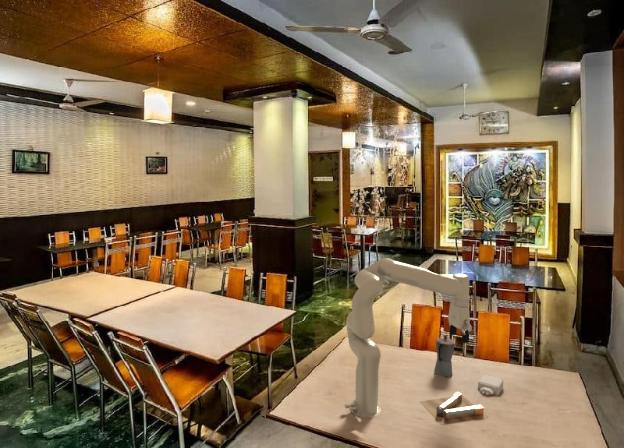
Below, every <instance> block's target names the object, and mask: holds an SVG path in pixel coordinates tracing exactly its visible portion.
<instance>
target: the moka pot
mask: <svg viewBox="0 0 624 448" xmlns="http://www.w3.org/2000/svg"><path fill="white" fill-rule="evenodd" d="M435 342H436V343H435V344H436V360H435V361H436V362H435V365H434V370H433V372H434V374H435V375H439V376H441V377H443V378H450V377H452V376H453V365H452V364H453V363H452V358H453V355H454V349H455V345H456V343H455V340H452V339H451V338H449V337H448V336H447V335H444V336H443V337H439V338H436V339H435Z"/></svg>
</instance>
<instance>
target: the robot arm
mask: <svg viewBox="0 0 624 448" xmlns="http://www.w3.org/2000/svg"><path fill="white" fill-rule="evenodd" d="M384 278H385V279H386V280H389V281H392V282H396V283H399V284H404V285H407V286H412V287H415V288H419V289H421V290H427V291H430V292H434V293H438V294H441V295H445V296H450V303H449V308H448V309H449V311H448V314H447V318H448V319H447V321H448V325H449V335H450V336H454V335H457V330H461V331H462V334H461V343H462V344H469V343H470V335H471V334H472V329H473V326H472V325H471V323H470V321H471V320H470V319H471V317H470V307H469V306H470V305H469V304H470V276H468V275H467V274H464V273H454V274H447V273H442V274H441V273H440V274H438V273H435V272H432V271H430V270H428V269H426V268H424V267H420V266H416V265H412V264H409V263H404V262H400V261H396V260H394V259H393V258H392V259H391V258H389V257H384V258H381V259H379V260H376V261H375V262H373V263H372V264H369V265H368V266H366V267H364V268H363V269H361V270H359V271H358V272H357V273H356V275H355V277H354V283H355V286H356V287H357V288H358V289H357V291H355V293H354V295H353V297H352V301H351V311H350V312H349V313H348V315H347V317H346V321H345V323H346V324H345V326H346V331H347V332H346V333H347V340H348V345H349V348H350V350H351V351H352V353H353V354H354V356H356V357H357V364H356V368H355V398H354V399H353V401H351V403H347V402H346V403H344V408H345V409H349V411H351V412H352V414H353V415H354V416H355V417H357V418H359V419H360V418H361V417H363V418H373V417H376V416H378V415H379V416H380V414H381V412H382V408H381V406H380V405H379V369H380V368H379V367H380V361H381V357H382V356H381V354H382V353H381V350H380V347H379V346H378V344H377V343H376V342H375V341H374V340H372V337H374V335H375V331H376V329H375V328H376V326H375V319H374V312H373V311H374V310H373V304H374V301H375V299H376V298H377V297H378V296H379V295H380V294H381V292H382V290H383V288H384V283H383V281H382V280H383V279H384Z"/></svg>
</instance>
